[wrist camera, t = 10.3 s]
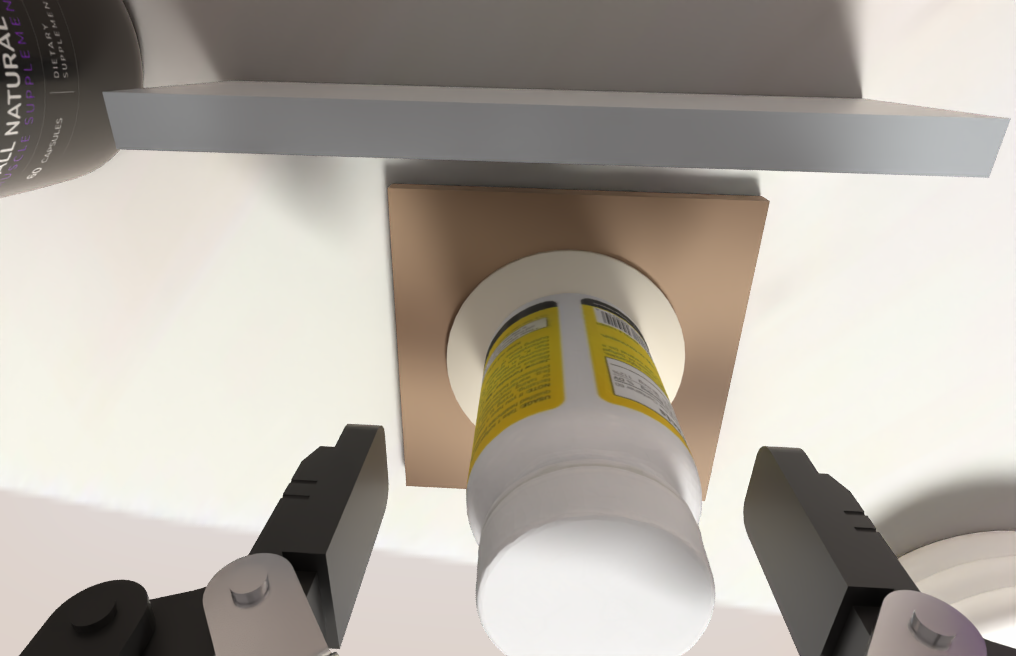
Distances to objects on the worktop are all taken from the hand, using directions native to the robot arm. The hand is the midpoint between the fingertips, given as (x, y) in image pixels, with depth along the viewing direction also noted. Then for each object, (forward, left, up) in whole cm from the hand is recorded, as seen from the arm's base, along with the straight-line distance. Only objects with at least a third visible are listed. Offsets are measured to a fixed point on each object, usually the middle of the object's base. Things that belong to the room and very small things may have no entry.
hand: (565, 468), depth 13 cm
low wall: (-7, -1, -6) cm, 9 cm away
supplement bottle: (0, 0, -5) cm, 5 cm away
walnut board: (0, 0, -6) cm, 6 cm away
